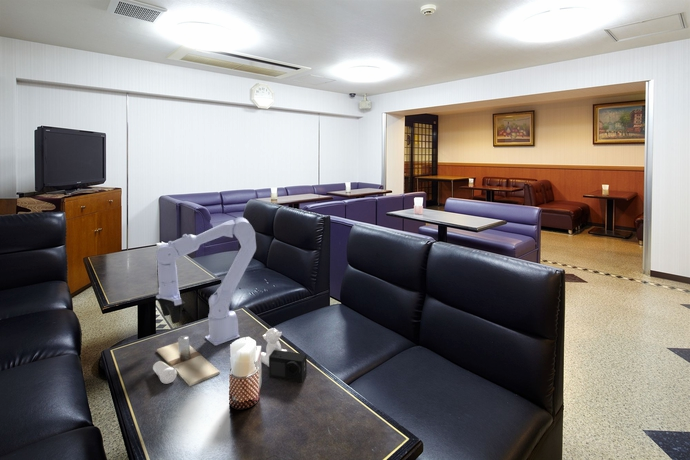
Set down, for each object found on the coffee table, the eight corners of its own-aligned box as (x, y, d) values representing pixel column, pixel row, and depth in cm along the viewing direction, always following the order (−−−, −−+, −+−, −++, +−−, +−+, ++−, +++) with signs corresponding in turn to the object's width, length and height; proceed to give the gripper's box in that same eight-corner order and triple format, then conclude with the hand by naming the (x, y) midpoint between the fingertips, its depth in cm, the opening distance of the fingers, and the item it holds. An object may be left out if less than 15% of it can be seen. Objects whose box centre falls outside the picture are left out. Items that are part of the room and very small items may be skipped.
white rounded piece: (171, 360, 116) (184, 371, 109) (158, 376, 114) (171, 388, 107) (160, 353, 114) (172, 364, 107) (147, 369, 112) (159, 381, 105)
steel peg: (188, 354, 122) (186, 334, 121) (192, 358, 120) (190, 338, 118) (178, 357, 120) (176, 337, 118) (181, 362, 118) (180, 341, 116)
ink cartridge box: (258, 400, 102) (256, 351, 99) (239, 401, 101) (237, 351, 98) (262, 381, 110) (261, 335, 107) (245, 382, 110) (243, 335, 106)
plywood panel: (184, 342, 131) (183, 339, 131) (219, 373, 113) (219, 370, 113) (156, 351, 125) (156, 348, 125) (189, 386, 107) (189, 383, 107)
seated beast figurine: (286, 353, 126) (286, 319, 123) (291, 367, 118) (290, 331, 115) (257, 357, 123) (256, 323, 120) (260, 372, 115) (259, 336, 112)
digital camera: (267, 380, 111) (266, 358, 109) (274, 369, 116) (274, 349, 115) (300, 385, 109) (300, 363, 107) (306, 374, 114) (306, 353, 112)
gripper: (147, 277, 126) (151, 315, 129) (163, 289, 116) (167, 329, 119) (169, 273, 131) (172, 309, 134) (186, 283, 121) (189, 323, 124)
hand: (171, 318), depth 127 cm, fingers open, 7 cm apart
